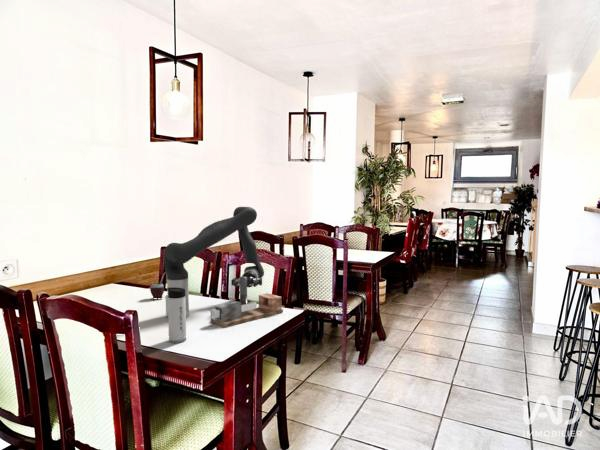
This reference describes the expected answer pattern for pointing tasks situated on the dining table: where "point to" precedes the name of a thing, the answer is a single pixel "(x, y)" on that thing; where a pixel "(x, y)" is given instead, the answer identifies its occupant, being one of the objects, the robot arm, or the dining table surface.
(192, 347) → the dining table surface
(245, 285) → the grey stepped block
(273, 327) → the dining table surface
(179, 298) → the travel mug
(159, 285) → the mate gourd
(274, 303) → the tube rig
